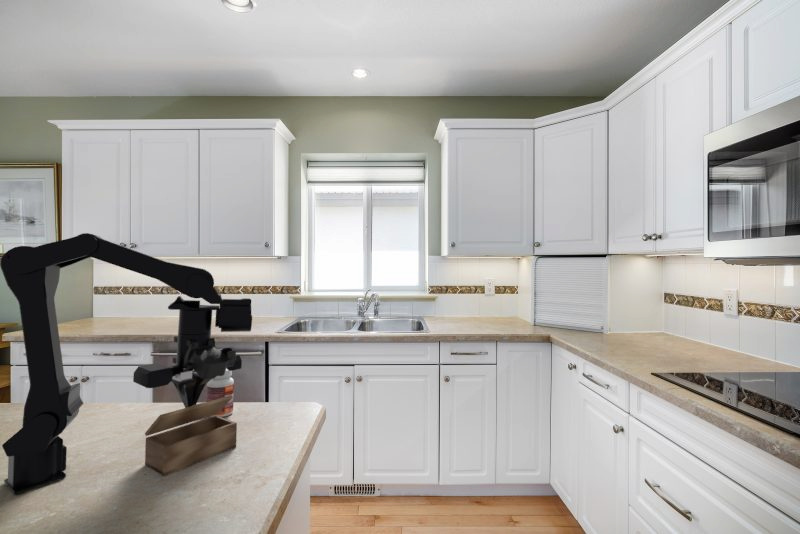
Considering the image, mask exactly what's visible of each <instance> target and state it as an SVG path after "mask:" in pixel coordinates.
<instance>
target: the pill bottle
mask: <svg viewBox="0 0 800 534" xmlns="http://www.w3.org/2000/svg"><path fill="white" fill-rule="evenodd" d="M231 376H233V370H232V371H229V370H228V369H227V368H226V371H225V374H224V375H223V376H216V378H213V379H211V380H210V381H209V382H208V383H207V384H206V402H209V401H212V400H216V399H220V398H223V397H227V396H231V395H232V399H231V400H230V401H229V402H228V403H227V404H226V405H225V406H224V407H223V408H222V409H221V410H220V411H219V412H218V414H216V415H212V416H209V417H208V418H211V417H214V416H220V417H222V418H225V417H228V416H230V415H231V414H233V412H234V396H235V395H234V390H235V388H234V387H235V385H234V384H235V380H234V378H232V377H231Z"/></svg>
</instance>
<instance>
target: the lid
mask: <svg viewBox="0 0 800 534" xmlns="http://www.w3.org/2000/svg"><path fill="white" fill-rule="evenodd" d="M231 399H232V395H231V396H227V397H223V398H220V399H216V400H212V401H209V402H207V401H205V402H204V401H203V402H201V403H196V405H193V406H191V407H187V408H185V407H184V408H180V409H177V410H173V411H170V412H167V413H163V414H159V416H158V417H157V418H156V419H155V420H154V422H153V423H152V424H151V425H150V426H149V428H148V429H147V430H146V431H145V432H144V435H145V437H149V436H152V435H156V434H159V433H162V432H165V431H168V430H172V429H175V428H178V427H181V426H184V425H188V424H191V423H194V422H197V421H201V420H204V419H207V418H210V417H209V416H212V415H216V414H218V412H219V411H220V410H221V409H222V408H223V407H224V406H225V405H226V404H227V403H228V402H229V401H230V400H231Z"/></svg>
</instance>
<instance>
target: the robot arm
mask: <svg viewBox="0 0 800 534" xmlns="http://www.w3.org/2000/svg"><path fill="white" fill-rule="evenodd" d="M90 258H93V259H95V260H98V261H102V262H104V263H107V264H111V265H113V266H117V267H120V268H122V269H126V270H129V271H131V272H135V273H138V274H141V275H143V276H146V277H150V278H152V279H156V280H157V281H159V282H161V283H163V284H165V285H167V286H169V287H170V288H172V289H174V290H175V291H177V292H179V293H180V294H183V295H185V296H187V297H189V298H192V299H194V300H189V299H187V300H185V299H183V297H182V296H181V295H179V296H177V298H176V299H175V300H174V301H173V302H172V303H169V305H168V307H167V309H168V310H170V311H172V310H173V311H174V310H178V312H179V313H178V314H179V315H178V327H177V328H178V329H177V335H175V336H174V337H173V342H174V343H176V344H177V345H176V356H173V357H172V363H173V364H175V365H172V366H171V365H170V366H167V365H164V364H161V363H159V362H157V363H151V364H143V365H138V367H137V368H136V369H135V370H134V372H133V377H132V378H133V379H132V380H133V381H132V382H134V383H136V384H137V385H140V386H142V387H144V388H146V389H154V388H160V387H164V386H167V385H169V384H170V383H172V384H173V385H174V387H175V389H176V390H177V392H178V395H179V397H180V400H181V401H182V404H183V406H184V408H187V407H191V406H193V405H196V404H198V402H199V399H200V397H201V394H202V392H203V390H204V388H205V387H206V386H207V383H208V382H209V381H210V380H211V379H213V378H216V376H223V375H224V374H225V371H226V368H227V369H228V370H229V371H232V372H233V371H236V370H241V369H242V368H243V358H242V357H241V355H240V354H237V353H236V351H237V350H236V349H235V348H234V347H233V346H229V347H224V348H218V349H217V347H216V340H215V337H212V335H211V334H212V320H213V319H212V318H213V311H215V322H214V323H215V324H214V325H215V328H218V329H220V332H221V333H231V332H232V333H233V332H235V333H240V332H243V333H244V332H245V333H247V332H251V331H252V323H253V315H252V298H247V297H245V298H243V297H242V298H223V296H222V294H221V293H219V292H218V290H217V289H216V288H215V286H214V285H215V279H214V277H213V275H212V273H211V272H210V271H209V270H206V269H204V268H200V267H194V266H189V265H185V264H178V263H174V262H169V261H166V260H163V259H160V258H157V257H154V256H151V255H148V254H146V253H143V252H140V251H137V250H135V249H132V248H129V247H127V246H126V247H125V246H124V245H121V244H118V243H115V242H112V241H109V240H107V239H104V238H102V237H101V236H99V235H96V234H93V233H87V232H86V233H85V232H84V233H80V234H78V235H75V236H73V237H70V238H66V239H61V240H57V241H52V242H49V243H44V244H40V245H37V246H31V245H30V246H29V245H20V246H15V247H13V248H10V249H8V250H7V251H6V252H5V253H4V254H2V256H1V258H0V269H1V271H2V274H3V278H4V280H5V282H6V285H7V287H8V288H9V290H10V291H11V293H12V294H13V295H14V297H15V298H16V300H17V302H18V305H19V313H20V319H21V327H22V335H23V341H24V349H25V357H26V366H27V371H28V380H29V390H28V393H27V396H26V401H25V402H24V403H25V404H24V407H23V416H22V427H21V428H20V429H19V430H18V431H17V432H15V434H13V435H12V436H11V437H9V439H7V440H6V441H5V442H3V443H2V449H3V451H4V453H5V455H6V457H8V464H7V465H8V466H7V478H5V479H4V480H3V483H4V485H5V486H6V487H7V488H8V490H10V491H11V493H12V494H14V495H17V494H18V495H19V494H21V493H24V492H27V491H30V490H33V489H36V488H40V487H43V486H46V485H48V484H51V483H53V482H56V481H60V480H63V479H65V478H66V477H67V475H66V473H65V470H67V454H68V453H67V449H68V448H67V447H68V446H65V445H64V439H63V438H61V437H60V436H59V435H60V434H62V433H63V432H64V430H66V428H67V427H68V426H69V425H70V424H71V423H72V422H74V420H75V419H76V417H77V416H78V415H79V412H80V408H81V407H82V405H84V401H83V400H82V398H81V383H80V382H77V383H74V384H72V385H71V384H70V382H69V380H67V378H66V376H65V371H64V364H63V355H62V348H61V341H60V333H59V326H58V318H57V312H56V311H57V310H56V304H55V303H56V301H55V296H56V292H57V288H58V285H59V282H60V273H61V269H62V268H66V267H69V266H72V265H75V264H77V263H79V262H82V261H84V260H86V259H90ZM195 299H202V300H203V301H205V302H207V303H209V304H211V305H207V304H201V300H195Z"/></svg>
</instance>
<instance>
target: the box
mask: <svg viewBox="0 0 800 534" xmlns="http://www.w3.org/2000/svg"><path fill="white" fill-rule="evenodd" d="M237 423H238V422H235V421H232V420H231V419H227V418H225V417H220V416H214V417H206V418H203V419H200V420H197V421H194V422H190V423H187V424H184V425H181V426H178V427H175V428H171V429H168V430H165V431H162V432H159V433H155V434H152V435H149V436H146V437H145V446H144V447H145V450H144V452H145V453H144V454H145V455H144V466H146V467H147V468H149V469H151V470H152V471H154V472H156V473H158V474H159V475H161V476H162V477H166V476H169V475H171V474H174V473H177V472H179V471H181V470H184V469H186V468H188V467H189V468H190V467H191V466H194V465H196V464H198V463H202V462H203V461H206V460H209V459H211V458H213V457H216V456H218V455H221V454H223V453H226V452H228V451H231V450H233V449H236V448H237V429H238V428H237V427H238V426H237V425H238V424H237Z"/></svg>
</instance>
